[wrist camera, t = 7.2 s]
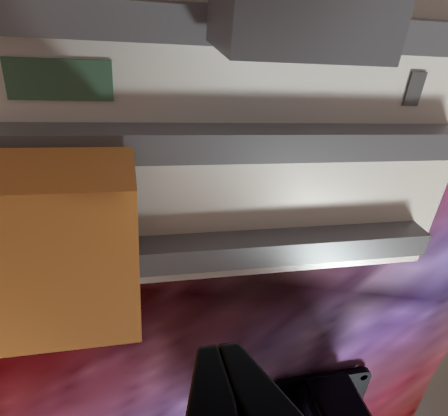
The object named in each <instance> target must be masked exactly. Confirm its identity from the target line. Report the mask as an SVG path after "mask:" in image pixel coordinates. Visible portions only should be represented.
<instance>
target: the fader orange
mask: <svg viewBox="0 0 448 416" xmlns="http://www.w3.org/2000/svg"><path fill="white" fill-rule="evenodd" d="M138 342H142V329H141V297H140V266H139V234H138V202H137V183H136V171H135V160H134V148H133V147H53V148H0V358H6V357H15V356H24V355H33V354H42V353H50V352H59V351H68V350H77V349H85V348H94V347H103V346H112V345H120V344H129V343H138Z"/></svg>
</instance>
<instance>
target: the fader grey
mask: <svg viewBox="0 0 448 416" xmlns="http://www.w3.org/2000/svg"><path fill="white" fill-rule="evenodd" d="M415 3H416V0H208V10H207V29H206V41H207V42H209V43H210V44H211V45H212V46H213V47H215V48H216V49H217V50H218V51H219V52H220V53H222V54H223V55H224V56H225V57H226V58H227V59H229V60H230V61H252V62H277V63H303V64H328V65H354V66H379V67H398V65H399V61H400V58H401V54H402V51H403V47H404V43H405V40H406V36H407V32H408V29H409V25H410V21H411V18H412V14H413V10H414V7H415Z"/></svg>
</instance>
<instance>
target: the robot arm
mask: <svg viewBox="0 0 448 416" xmlns="http://www.w3.org/2000/svg"><path fill="white" fill-rule="evenodd" d="M370 378H371V373H370V372H369V370H368V368H366V367H360V368H353V369H346V370H339V371H332V372H326V373H319V374H312V375H305V376H298V377H291V378H284V379H279V380H276V381H275V382H273V381H272V380H271V378H270V377H269V376H268V375H267V374H266V373H265V372H264V371H263V370H262V368H261V367H260V366H259V365H258V364H257V363H256V362H255V361H254V360H253V358H252V357H251V356H250V355H249V354H248V353H247V352H246V351H245V350H244V349H243V347H242V346H241V345H240V344H239V343H236V342H232V343H224V344H220V345H218V347H217V345H207V346H200V347H198V349H197V353H196V359H195V365H194V371H193V376H192V382H191V388H190V393H189V399H188V405H187V411H186V416H372V415H371V413H370V412H369V410H368V408H367V406H366V404H365V403H364V401H363V397H364V394H365V392H366V389H367V386H368V384H369V381H370Z"/></svg>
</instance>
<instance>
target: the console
mask: <svg viewBox="0 0 448 416" xmlns="http://www.w3.org/2000/svg"><path fill="white" fill-rule="evenodd" d="M207 10H208V0H0V148H53V147H133V148H134V160H135V171H136V183H137V202H138V234H139V266H140V284H145V283H157V282H169V281H181V280H193V279H205V278H217V277H230V276H242V275H254V274H266V273H278V272H290V271H302V270H314V269H326V268H338V267H351V266H363V265H375V264H387V263H399V262H411V261H418V258H419V256H420V255H424V253H425V251H426V248H427V246H428V243H429V240H430V238H431V235H430V234H429V233H428V232H429V230H430V227H431V224H432V222H433V219H434V217H435V214H436V211H437V209H438V206H439V204H440V201H441V198H442V196H443V193H444V190H445V188H446V185H447V183H448V0H416V3H415V7H414V10H413V14H412V18H411V21H410V25H409V29H408V32H407V36H406V40H405V43H404V47H403V51H402V54H401V58H400V61H399V65H398V67H379V66H354V65H328V64H303V63H277V62H252V61H230V60H229V59H227V58H226V57H225V56H224V55H223V54H222V53H220V52H219V51H218V50H217V49H216V48H215V47H213V46H212V45H211V44H210V43H209V42H207V41H206V29H207Z"/></svg>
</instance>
